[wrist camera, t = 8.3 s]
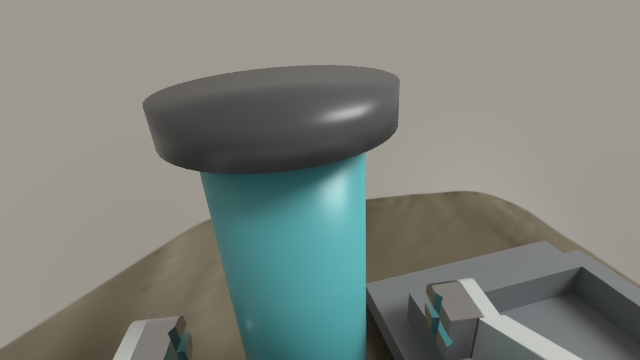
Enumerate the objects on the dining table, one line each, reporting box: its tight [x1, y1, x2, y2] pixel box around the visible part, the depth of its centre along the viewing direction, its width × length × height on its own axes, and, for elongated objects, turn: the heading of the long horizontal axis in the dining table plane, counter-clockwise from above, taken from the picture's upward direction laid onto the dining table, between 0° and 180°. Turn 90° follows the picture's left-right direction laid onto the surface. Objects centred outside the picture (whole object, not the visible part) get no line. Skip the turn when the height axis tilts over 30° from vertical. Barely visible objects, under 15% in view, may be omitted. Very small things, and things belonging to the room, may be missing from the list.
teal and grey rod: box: [143, 65, 400, 360], centre depth 12 cm, size 6×6×16 cm
